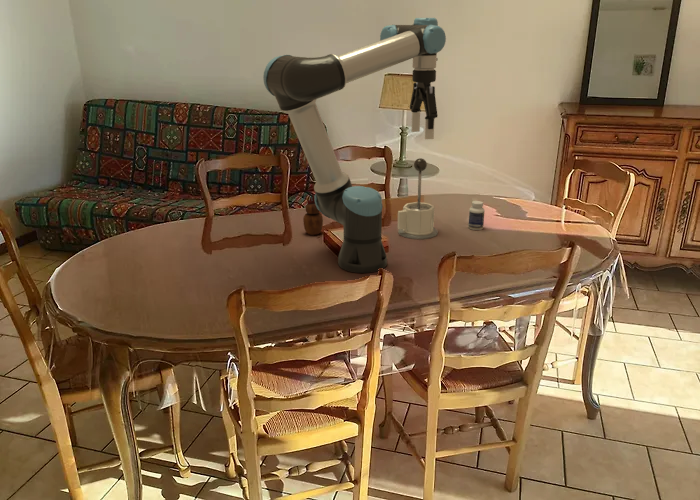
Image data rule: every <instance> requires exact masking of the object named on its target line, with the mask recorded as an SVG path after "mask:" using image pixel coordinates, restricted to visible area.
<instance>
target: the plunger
mask: <svg viewBox="0 0 700 500" xmlns="http://www.w3.org/2000/svg"><path fill="white" fill-rule="evenodd" d="M427 166H428V163H427V161H426V160H425V159H424V158H420V157H419V158H417V159H415V161H414V162H413V168H414V169H415V171H417V172H418V178H417V179H418V180H417V202H418V203H417V205H414V206H410V207H409V209H410V210H419V211H421V210H428V209H429V208H428V207H427V206H422V205H420V202H421V197H422V196H421V195H422V172H424V171H425V170H426V168H427Z"/></svg>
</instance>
